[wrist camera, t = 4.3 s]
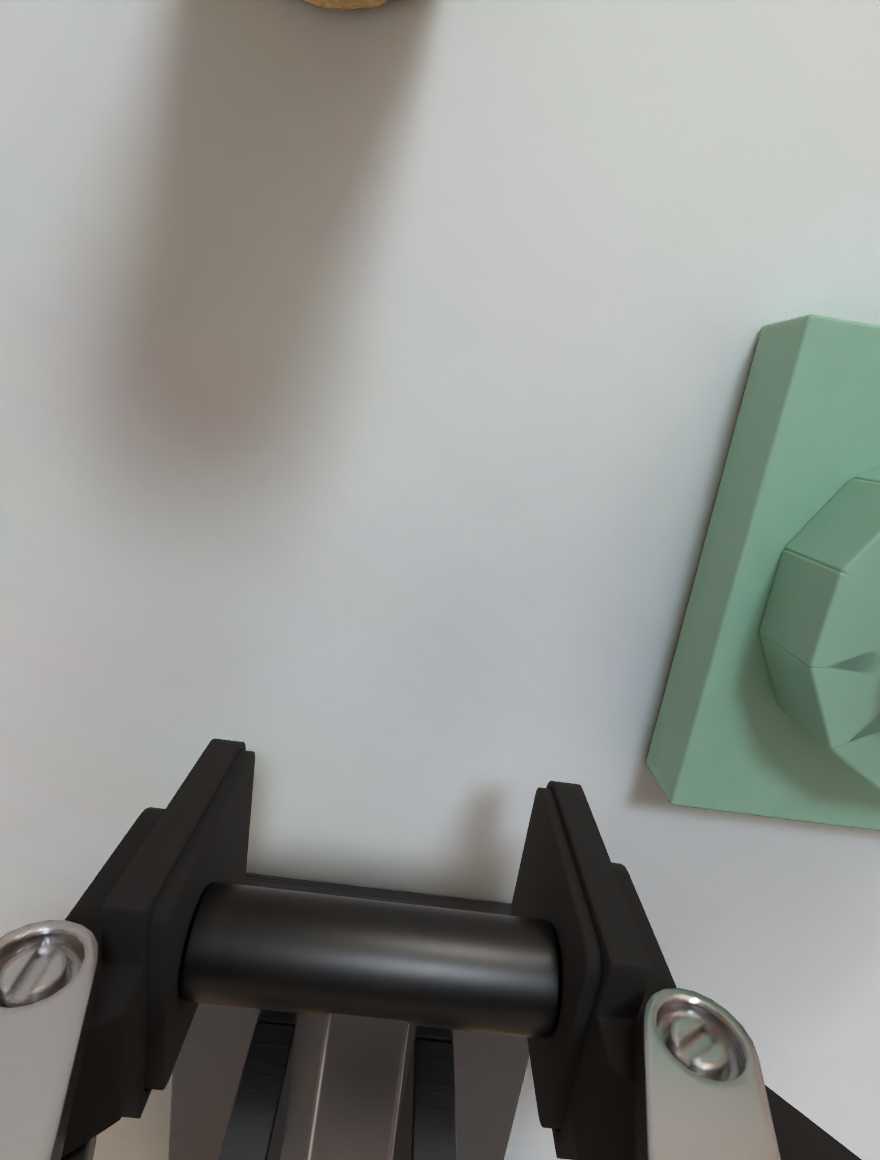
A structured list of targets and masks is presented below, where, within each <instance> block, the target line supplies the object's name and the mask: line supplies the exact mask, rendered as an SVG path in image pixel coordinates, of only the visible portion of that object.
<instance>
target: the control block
mask: <svg viewBox="0 0 880 1160" xmlns="http://www.w3.org/2000/svg"><path fill="white" fill-rule="evenodd" d="M646 764H647V765H648V767H649V769H650V770H651V772H652V774H653V775H654V777H655V779H656V780H657V782H658V784H659V785H660V787H661V789H662V790H663V792H664V794H665V795H666V797H667V799H668V800H669V802H670V803H671V804H673V805H679V806H687V807H695V808H703V809H711V810H719V811H727V812H735V813H743V814H751V815H759V816H767V817H775V818H783V819H791V820H799V821H807V822H815V823H823V824H831V825H839V826H847V827H855V828H863V829H871V830H879V831H880V326H876V325H870V324H865V323H859V322H853V321H847V320H841V319H835V318H829V317H823V316H817V315H807V316H803V317H799V318H795V319H791V320H787V321H782V322H778V323H774V324H770V325H766V326H763V327H762V329H761V332H760V336H759V339H758V343H757V347H756V351H755V354H754V358H753V362H752V366H751V369H750V373H749V377H748V381H747V385H746V388H745V392H744V396H743V400H742V403H741V407H740V411H739V415H738V418H737V422H736V426H735V430H734V433H733V437H732V441H731V445H730V448H729V452H728V456H727V460H726V463H725V467H724V471H723V475H722V478H721V482H720V486H719V490H718V493H717V497H716V501H715V505H714V508H713V512H712V516H711V520H710V524H709V527H708V531H707V535H706V539H705V542H704V546H703V550H702V554H701V557H700V561H699V565H698V569H697V572H696V576H695V580H694V584H693V587H692V591H691V595H690V599H689V602H688V606H687V610H686V614H685V617H684V621H683V625H682V629H681V632H680V636H679V640H678V644H677V647H676V651H675V655H674V659H673V663H672V666H671V670H670V674H669V678H668V681H667V685H666V689H665V693H664V696H663V700H662V704H661V708H660V711H659V715H658V719H657V723H656V726H655V730H654V734H653V738H652V741H651V745H650V749H649V753H648V756H647V760H646Z"/></svg>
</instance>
